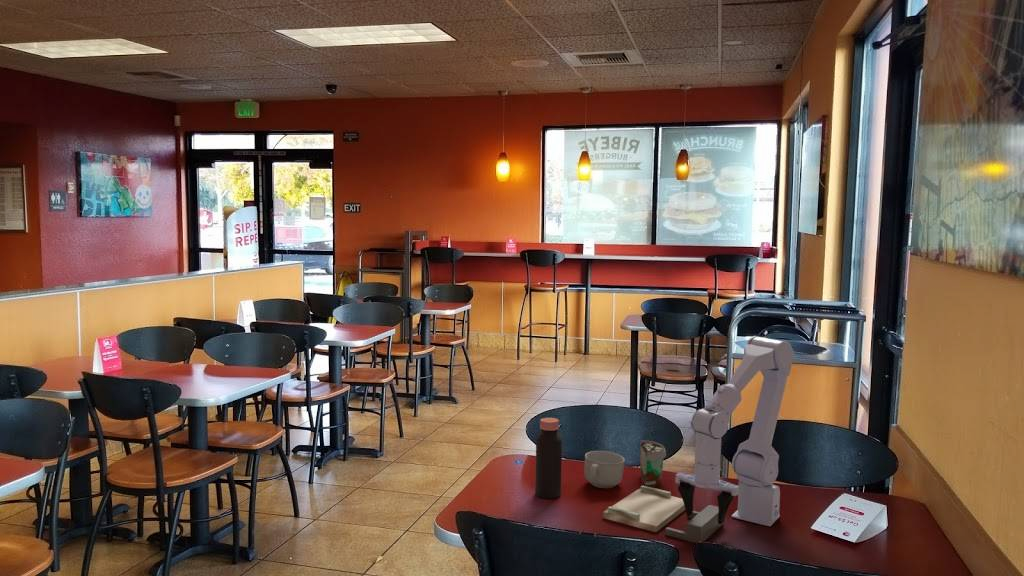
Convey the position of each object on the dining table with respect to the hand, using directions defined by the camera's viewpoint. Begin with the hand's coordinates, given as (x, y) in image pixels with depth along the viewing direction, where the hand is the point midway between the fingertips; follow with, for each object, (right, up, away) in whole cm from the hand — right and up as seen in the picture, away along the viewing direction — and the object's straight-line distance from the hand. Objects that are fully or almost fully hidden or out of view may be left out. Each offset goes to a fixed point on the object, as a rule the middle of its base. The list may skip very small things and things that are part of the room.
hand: (705, 518), depth 178 cm
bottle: (-35, -1, +23) cm, 42 cm away
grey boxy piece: (-2, -3, +2) cm, 4 cm away
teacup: (-21, 0, +30) cm, 36 cm away
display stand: (-11, -2, +12) cm, 17 cm away
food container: (-6, 0, +34) cm, 34 cm away
